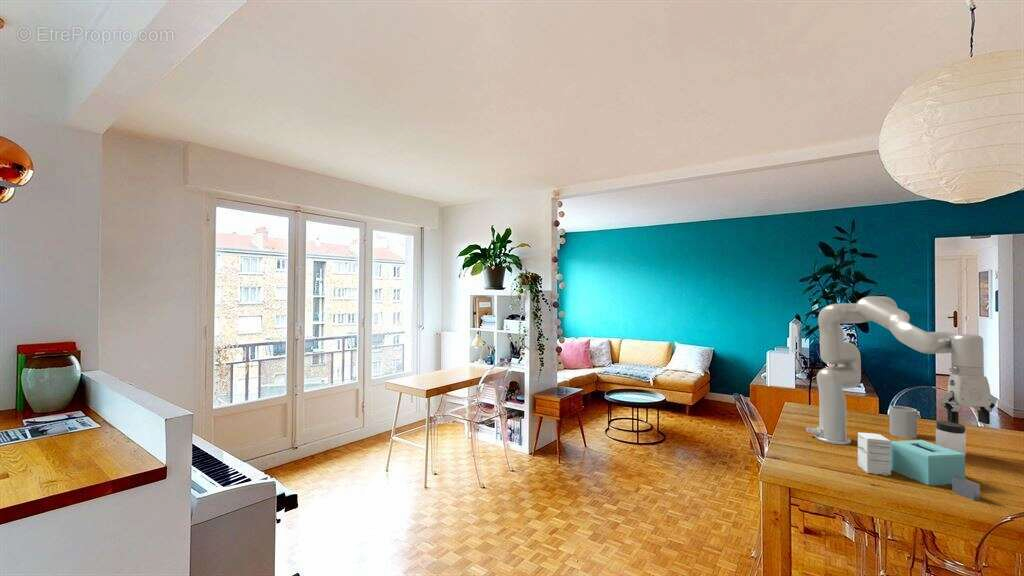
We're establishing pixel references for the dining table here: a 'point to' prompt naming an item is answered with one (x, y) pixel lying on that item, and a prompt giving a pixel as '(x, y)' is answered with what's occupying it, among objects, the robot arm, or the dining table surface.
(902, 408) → the cup
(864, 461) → the supplement box
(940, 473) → the coin box
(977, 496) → the grey metal block
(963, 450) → the jar
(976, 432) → the dining table surface
